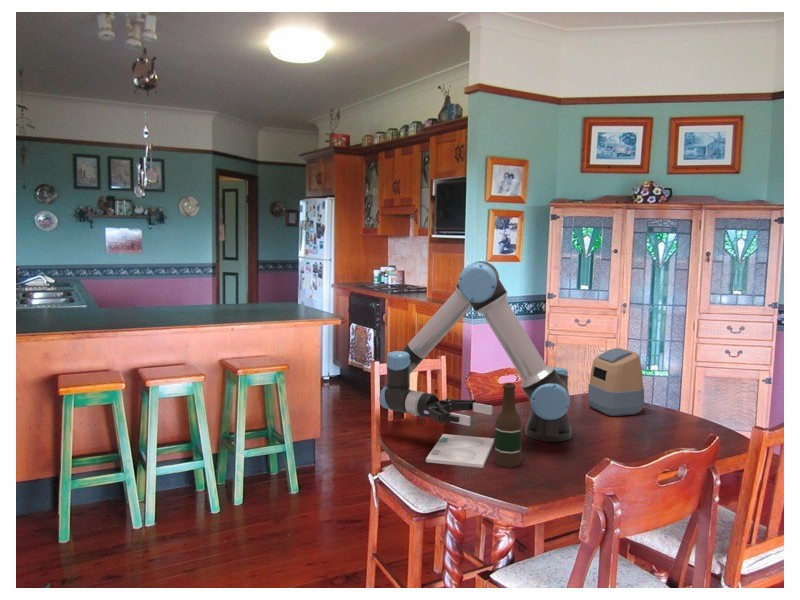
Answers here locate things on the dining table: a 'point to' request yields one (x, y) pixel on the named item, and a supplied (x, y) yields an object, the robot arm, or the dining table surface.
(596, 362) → the tan tapered boxy piece
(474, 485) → the dining table surface
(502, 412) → the beer bottle
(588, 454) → the dining table surface
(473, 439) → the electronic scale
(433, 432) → the dining table surface
